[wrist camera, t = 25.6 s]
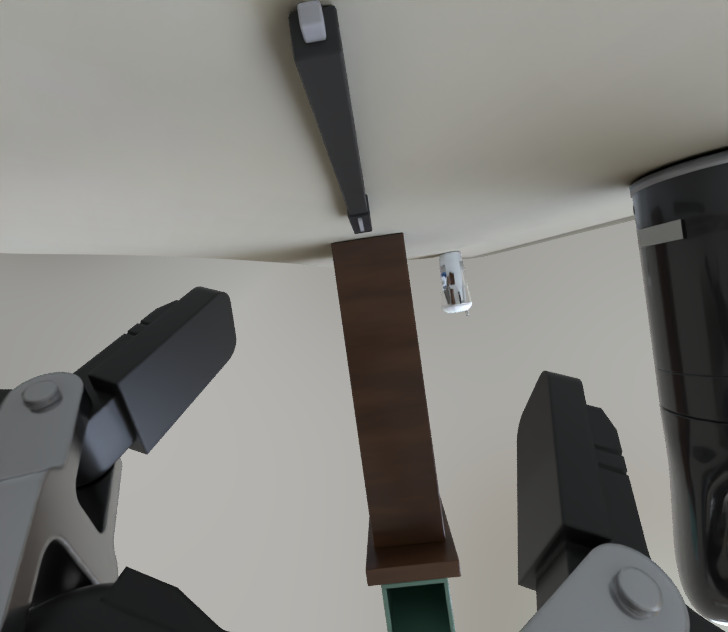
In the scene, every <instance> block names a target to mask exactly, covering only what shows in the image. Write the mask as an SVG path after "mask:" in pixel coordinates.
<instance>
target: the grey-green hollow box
mask: <svg viewBox="0 0 728 632" xmlns="http://www.w3.org/2000/svg"><path fill="white" fill-rule="evenodd" d="M381 587H382V594H383V601H384V609H385V616H386V623H387V630H388V632H455V626H454V619H453V612H452V605H451V598H450V591H449V583H448V578H440V579H431V580H421V581H412V582H402V583H392V584H383V585H381Z"/></svg>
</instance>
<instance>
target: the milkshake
mask: <svg viewBox="0 0 728 632" xmlns="http://www.w3.org/2000/svg"><path fill="white" fill-rule="evenodd" d="M439 261H440V276H441V299H442V300H441V301H442V309H443V310H444V311H445V312H447V313H452V312H455V313H456V312H461V311H465V313H466V316H469V314H468V311H467V309H469V308H470V307H471V305H472V301H471V297H470V293H469V289H468V285H467V281H466V275H465V271H464V266H463V261H462V256H461V252H449V253H444V254H441V255H439Z"/></svg>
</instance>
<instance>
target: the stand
mask: <svg viewBox="0 0 728 632" xmlns="http://www.w3.org/2000/svg"><path fill="white" fill-rule="evenodd" d="M331 247H332V254H333V261H334V268H335V275H336V282H337V290H338V297H339V304H340V311H341V318H342V325H343V332H344V339H345V346H346V352H347V360H348V367H349V374H350V381H351V388H352V396H353V402H354V409H355V417H356V423H357V431H358V438H359V445H360V452H361V459H362V466H363V473H364V480H365V487H366V495H367V502H368V509H369V515H370V517H369V531H368V545H367V559H366V576H367V583H368V586H373V585H383V584H392V583H402V582H412V581H421V580H431V579H440V578H449V577H460V576H461V572H460V564H459V559H458V555H457V552H456V549H455V545H454V542H453V538H452V535H451V532H450V528H449V525H448V522H447V518H446V515H445V511H444V508H443V505H442V501H441V498H440V495H439V489H438V481H437V474H436V467H435V459H434V453H433V445H432V438H431V431H430V424H429V416H428V409H427V402H426V395H425V388H424V380H423V374H422V367H421V359H420V352H419V345H418V338H417V330H416V323H415V316H414V309H413V301H412V294H411V287H410V280H409V272H408V265H407V258H406V251H405V244H404V236H403V233H398V234H392V235H385V236H378V237H372V238H365V239H358V240H352V241H345V242H339V243H332V244H331Z"/></svg>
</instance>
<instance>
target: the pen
mask: <svg viewBox="0 0 728 632" xmlns="http://www.w3.org/2000/svg"><path fill="white" fill-rule="evenodd" d="M297 9H298V12H292V13H290V14H289V17H288V19H289V26H290V33H291V40H292V47H293V54H294V60H295V63H296V66H297V68H298V71H299V74H300V77H301V80H302V82H303V85H304V88H305V91H306V94H307V96H308V99H309V102H310V105H311V108H312V110H313V113H314V116H315V119H316V122H317V124H318V127H319V130H320V133H321V135H322V138H323V141H324V144H325V147H326V149H327V152H328V155H329V158H330V161H331V163H332V166H333V169H334V172H335V175H336V177H337V180H338V183H339V186H340V189H341V191H342V194H343V197H344V200H345V202H346V205H347V211H348V218H349V220H350V223H351V226H352V228H353V231H354V233H355V234H358V233H364V232H371V231H372V225H371V218H370V211H369V204H368V197H367V195H366V194H365V188H364V182H363V176H362V169H361V163H360V157H359V150H358V144H357V138H356V131H355V125H354V118H353V112H352V106H351V99H350V93H349V87H348V80H347V74H346V68H345V61H344V55H343V49H342V42H341V36H340V29H339V23H338V17H337V10H336V8H335V6H333V5H331V6H326V7H321V3H320V1H319V0H314V1H309V2H303V3H299V4H298V6H297Z"/></svg>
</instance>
